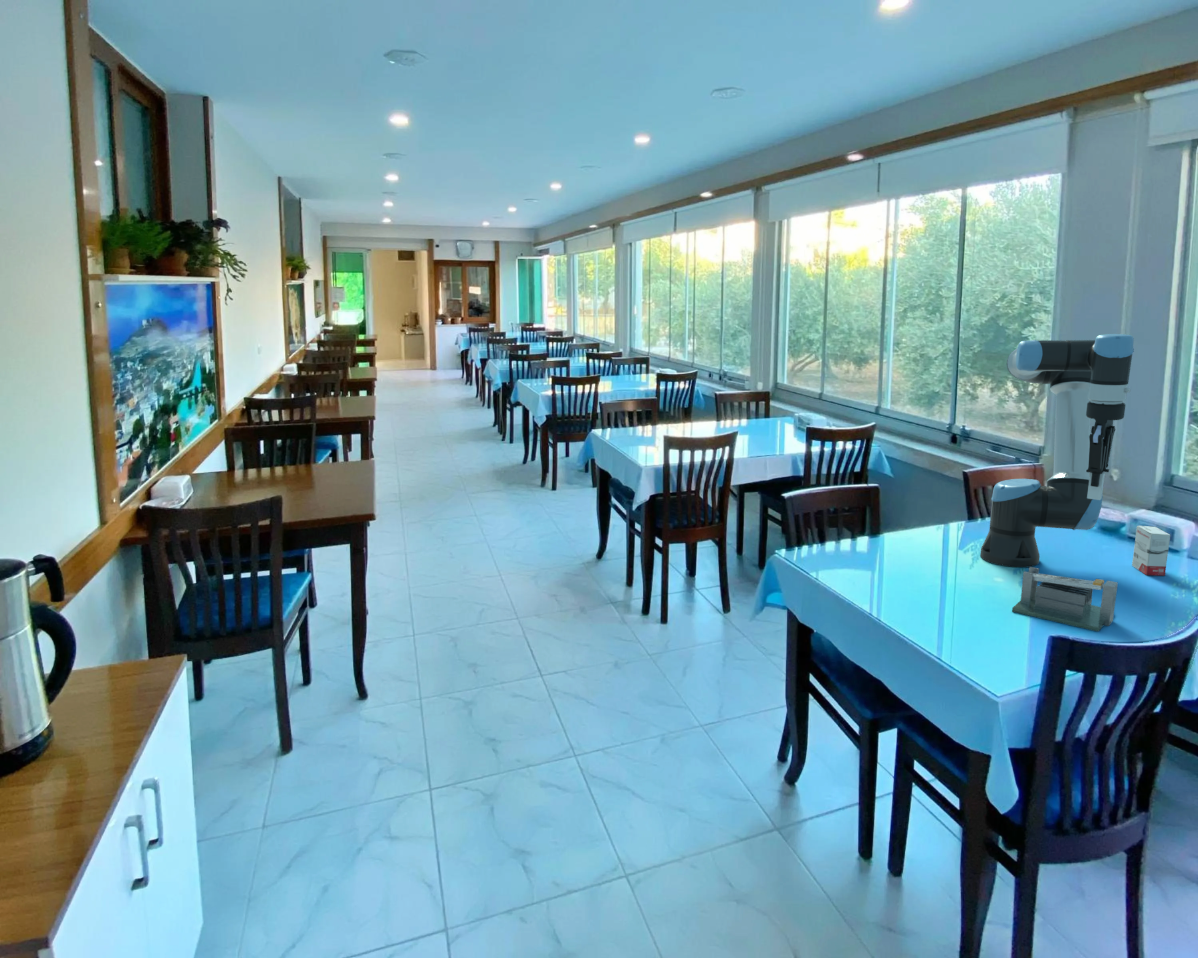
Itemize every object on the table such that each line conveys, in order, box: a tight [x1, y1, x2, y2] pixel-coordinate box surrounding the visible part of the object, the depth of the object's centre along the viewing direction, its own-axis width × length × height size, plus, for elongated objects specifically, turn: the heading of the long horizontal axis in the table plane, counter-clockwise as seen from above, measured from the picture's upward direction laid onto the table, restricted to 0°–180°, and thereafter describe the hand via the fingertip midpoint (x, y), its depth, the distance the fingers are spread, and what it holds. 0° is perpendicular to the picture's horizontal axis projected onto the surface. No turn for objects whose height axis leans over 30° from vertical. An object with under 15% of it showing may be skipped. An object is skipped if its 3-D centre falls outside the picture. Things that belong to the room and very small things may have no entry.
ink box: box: [1131, 525, 1171, 577], centre depth 210 cm, size 9×5×12 cm, turn 168°
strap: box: [1031, 572, 1105, 591], centre depth 183 cm, size 16×3×2 cm, turn 45°
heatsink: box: [1011, 566, 1118, 633], centre depth 183 cm, size 19×14×10 cm
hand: (1094, 498), depth 185 cm, fingers closed
